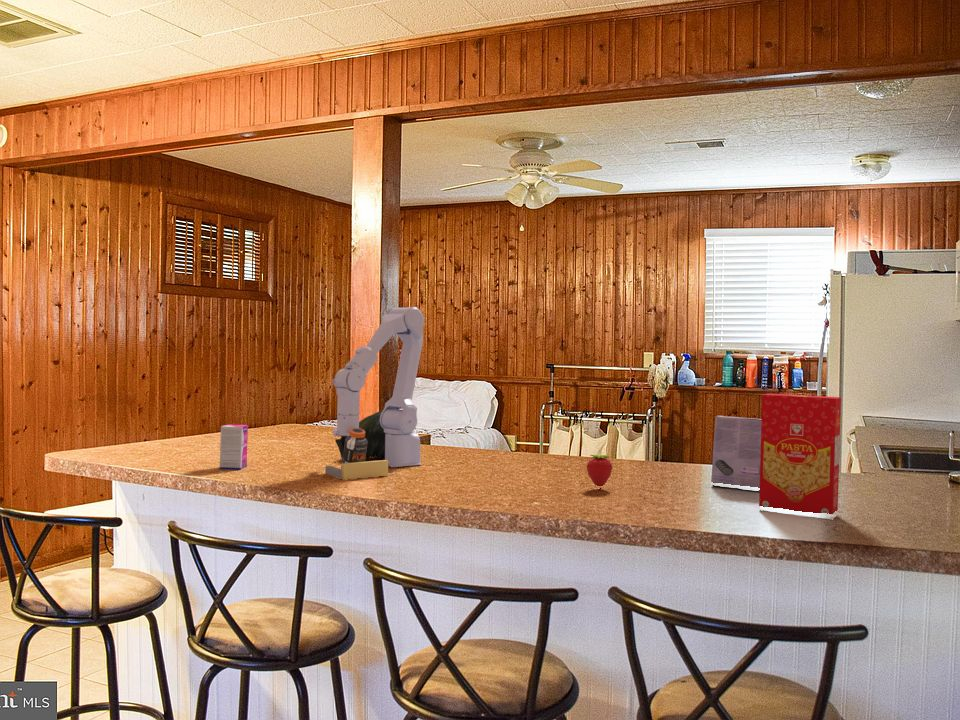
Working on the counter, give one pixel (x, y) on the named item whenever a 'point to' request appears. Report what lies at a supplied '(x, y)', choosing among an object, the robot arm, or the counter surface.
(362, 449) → the pill bottle
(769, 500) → the food packaging
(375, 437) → the squash
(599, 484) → the strawberry
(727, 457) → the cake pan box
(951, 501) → the counter surface
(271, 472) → the counter surface
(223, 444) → the supplement box
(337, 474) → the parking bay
